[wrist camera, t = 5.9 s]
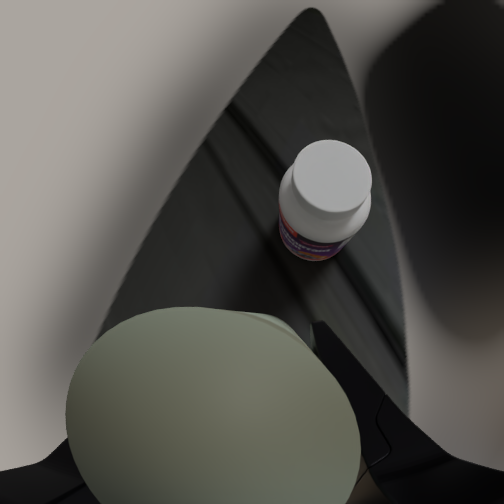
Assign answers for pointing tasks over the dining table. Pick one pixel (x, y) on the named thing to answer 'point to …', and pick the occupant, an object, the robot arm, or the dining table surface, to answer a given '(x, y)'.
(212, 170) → the dining table surface
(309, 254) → the pill bottle
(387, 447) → the robot arm
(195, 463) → the peg
